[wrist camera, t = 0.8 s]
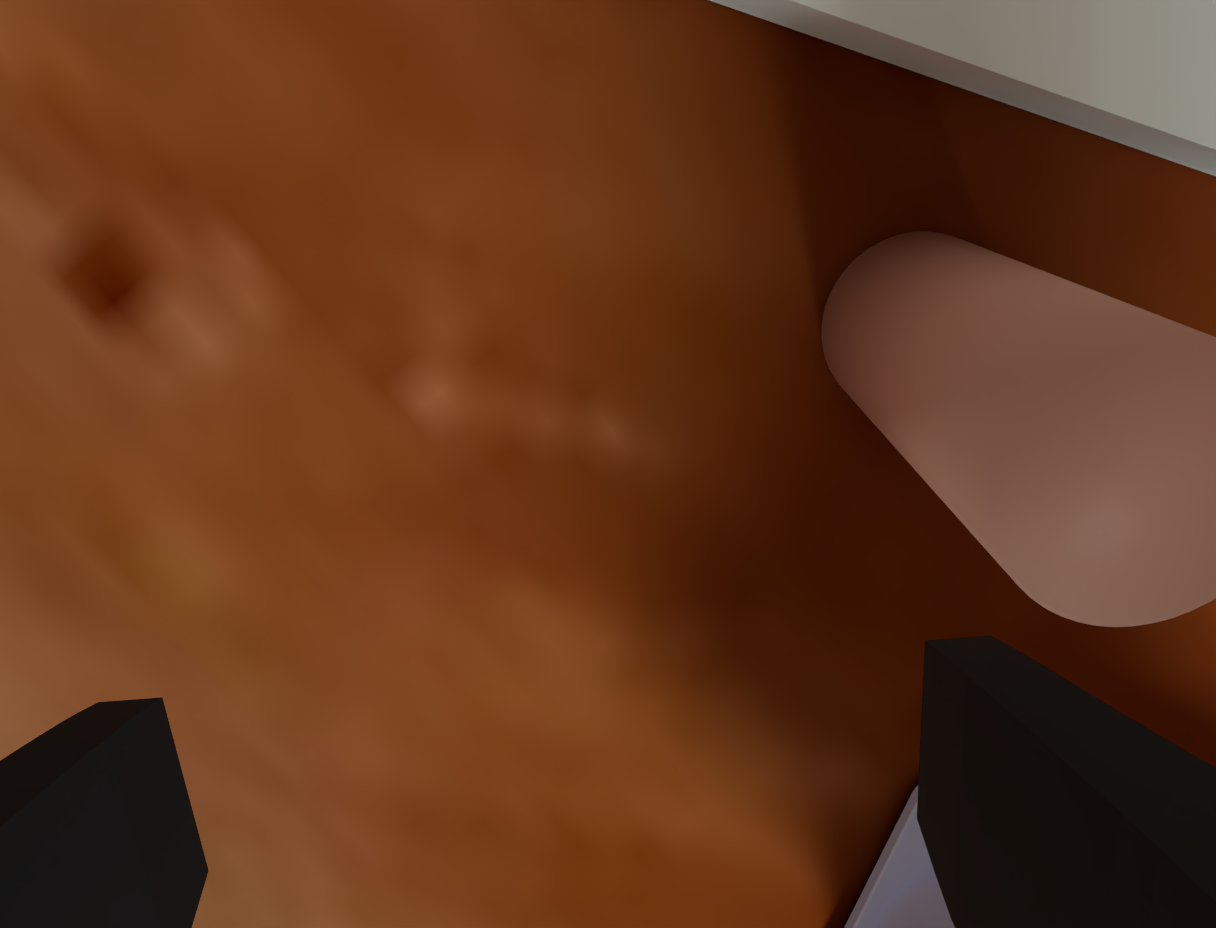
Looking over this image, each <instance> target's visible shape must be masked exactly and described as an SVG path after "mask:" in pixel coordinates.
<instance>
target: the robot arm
mask: <svg viewBox="0 0 1216 928" xmlns="http://www.w3.org/2000/svg"><path fill="white" fill-rule="evenodd" d="M207 873H208V867H207V864H206V860H205V856H204V852H203V849H202V845H201V841H200V837H199V834H198V830H197V826H196V822H195V819H194V815H193V811H192V807H191V804H190V800H189V796H188V792H187V789H186V785H185V781H184V777H183V774H182V770H181V766H180V762H179V759H178V755H177V751H176V747H175V744H174V740H173V736H172V733H171V729H170V725H169V721H168V718H167V714H166V710H165V706H164V703H163V699H162V698H151V699H137V700H124V701H110V702H98V703H96V704H94V705H92V706H90V707H88V708H86V709H85V710H83V711H81V712H79V713H77V714H75V715H73V716H72V717H70V718H68V719H66V720H65V721H63V722H61V723H60V724H58V725H56V726H55V727H53V728H51V729H50V730H48V731H46V732H45V733H43V734H42V735H40V736H38V737H37V738H35V739H34V740H32V741H30V742H29V743H27V744H26V745H24V746H23V747H21V748H19V749H18V750H16V751H15V752H13V753H12V754H10V755H9V756H7V757H5V758H4V759H2V760H1V761H0V928H192V924H193V921H194V917H195V914H196V911H197V907H198V904H199V900H200V897H201V894H202V890H203V887H204V884H205V880H206V877H207ZM844 928H1216V768H1214V767H1213V766H1211V765H1209V764H1207V763H1206V762H1204V761H1202V760H1200V759H1198V758H1197V757H1195V756H1193V755H1192V754H1190V753H1188V752H1186V751H1185V750H1183V749H1181V748H1179V747H1178V746H1176V745H1174V744H1172V743H1171V742H1169V741H1167V740H1166V739H1164V738H1162V737H1161V736H1159V735H1157V734H1156V733H1154V732H1152V731H1150V730H1149V729H1147V728H1145V727H1144V726H1142V725H1140V724H1139V723H1137V722H1135V721H1134V720H1132V719H1130V718H1129V717H1127V716H1125V715H1124V714H1122V713H1120V712H1119V711H1117V710H1115V709H1114V708H1112V707H1110V706H1109V705H1107V704H1105V703H1104V702H1102V701H1101V700H1099V699H1097V698H1096V697H1094V696H1092V695H1091V694H1089V693H1087V692H1086V691H1084V690H1083V689H1081V688H1079V687H1078V686H1076V685H1074V684H1073V683H1071V682H1069V681H1068V680H1066V679H1064V678H1063V677H1061V676H1060V675H1058V674H1056V673H1055V672H1053V671H1051V670H1050V669H1048V668H1046V667H1045V666H1043V665H1041V664H1040V663H1038V662H1036V661H1035V660H1033V659H1031V658H1030V657H1028V656H1026V655H1024V654H1023V653H1021V652H1019V651H1018V650H1016V649H1014V648H1012V647H1010V646H1009V645H1007V644H1005V643H1003V642H1001V641H999V640H997V639H995V638H993V637H991V636H983V637H969V638H956V639H943V640H929V641H925V655H924V676H923V697H922V718H921V739H920V760H919V780H918V785H917V787H916V788H915V789H914V791H913V792H912V794H911V796H910V798H909V800H908V802H907V804H906V806H905V808H904V810H903V812H902V814H901V816H900V818H899V820H898V822H897V824H896V826H895V828H894V830H893V832H892V834H891V836H890V838H889V840H888V842H887V844H886V846H885V848H884V849H883V851H882V853H881V855H880V857H879V859H878V861H877V863H876V865H875V867H874V869H873V871H872V873H871V875H870V877H869V879H868V881H867V883H866V885H865V887H864V889H863V891H862V893H861V895H860V897H859V899H858V901H857V903H856V905H855V907H854V909H853V911H852V913H851V915H850V917H849V919H848V921H847V923H846V925H845V927H844Z"/></svg>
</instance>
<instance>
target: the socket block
mask: <svg viewBox="0 0 1216 928" xmlns="http://www.w3.org/2000/svg"><path fill="white" fill-rule="evenodd" d="M709 1H712V2H715V3H718V4H721V5H724V6H727V7H729V8H732V9H735V10H738V11H741V12H744V13H747V14H750V15H752V16H755V17H758V18H761V19H764V20H767V21H770V22H773V23H775V24H778V25H781V26H784V27H787V28H790V29H793V30H796V31H798V32H801V33H804V34H807V35H810V36H813V37H816V38H819V39H822V40H824V41H827V42H830V43H833V44H836V45H839V46H842V47H845V48H847V49H850V50H853V51H856V52H859V53H862V54H865V55H868V56H870V57H873V58H876V59H879V60H882V61H885V62H888V63H891V64H893V65H896V66H899V67H902V68H905V69H908V70H911V71H914V72H916V73H919V74H922V75H925V76H928V77H931V78H934V79H937V80H939V81H942V82H945V83H948V84H951V85H954V86H957V87H960V88H962V89H965V90H968V91H971V92H974V93H977V94H980V95H983V96H985V97H988V98H991V99H994V100H997V101H1000V102H1003V103H1006V104H1008V105H1011V106H1014V107H1017V108H1020V109H1023V110H1026V111H1029V112H1032V113H1034V114H1037V115H1040V116H1043V117H1046V118H1049V119H1052V120H1055V121H1057V122H1060V123H1063V124H1066V125H1069V126H1072V127H1075V128H1078V129H1080V130H1083V131H1086V132H1089V133H1092V134H1095V135H1098V136H1101V137H1103V138H1106V139H1109V140H1112V141H1115V142H1118V143H1121V144H1124V145H1126V146H1129V147H1132V148H1135V149H1138V150H1141V151H1144V152H1147V153H1149V154H1152V155H1155V156H1158V157H1161V158H1164V159H1167V160H1170V161H1172V162H1175V163H1178V164H1181V165H1184V166H1187V167H1190V168H1193V169H1195V170H1198V171H1201V172H1204V173H1207V174H1210V175H1213V176H1216V0H709Z"/></svg>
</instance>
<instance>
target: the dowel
mask: <svg viewBox="0 0 1216 928" xmlns="http://www.w3.org/2000/svg"><path fill="white" fill-rule="evenodd" d="M821 339H822V348H823V352H824V357H825V360H826V362H827V365H828V368H829V370H830V371H831V373H832V375H833V377H834V378H835V380H836V381H837V382H838V384H839V385H840V386H841V388H842V389H843V390H844V391H845V392H846V393H847V394H848V395H849V396H850V398H851V399H852V400H853V401H854V402H855V403H856V404H857V405H858V407H859V408H860V409H861V410H862V411H863V412H864V413H865V414H866V416H867V417H868V418H869V419H870V420H871V421H872V422H873V423H874V425H875V426H876V427H877V428H878V429H879V430H880V431H881V432H882V434H883V435H884V436H885V437H886V438H887V439H888V440H889V441H890V443H891V444H892V445H893V446H894V447H895V448H896V449H897V450H898V452H899V453H900V454H901V455H902V456H903V457H904V458H905V459H906V461H907V462H908V463H909V464H910V465H911V466H912V467H913V468H914V469H915V471H916V472H917V473H918V474H919V475H920V476H921V477H922V478H923V480H924V481H925V482H926V483H927V484H928V485H929V486H930V487H931V489H932V490H933V491H934V492H935V493H936V494H937V495H938V496H939V498H940V499H941V500H942V501H943V502H944V503H945V504H946V505H947V507H948V508H949V509H950V510H951V511H952V512H953V513H954V514H955V516H956V517H957V518H958V519H959V520H960V521H961V522H962V523H963V525H964V526H965V527H966V528H967V529H968V530H969V531H970V532H971V534H972V535H973V536H974V537H975V538H976V539H977V540H978V541H979V542H980V544H981V545H982V546H983V547H984V548H985V549H986V550H987V551H988V553H989V554H990V555H991V556H992V557H993V558H994V559H995V560H996V562H997V563H998V564H999V565H1000V566H1001V567H1002V568H1003V569H1004V571H1005V572H1006V573H1007V574H1008V575H1009V576H1010V577H1011V578H1012V580H1013V581H1014V582H1015V583H1016V584H1017V585H1018V586H1019V587H1020V588H1021V589H1022V590H1023V591H1024V592H1025V593H1026V594H1027V595H1028V596H1029V597H1030V598H1031V599H1033V600H1034V601H1035V602H1037V603H1038V604H1040V605H1041V606H1042V607H1044V608H1045V609H1047V610H1049V611H1051V612H1053V613H1055V614H1057V615H1059V616H1061V617H1064V618H1067V619H1070V620H1073V621H1076V622H1080V623H1084V624H1089V625H1094V626H1105V627H1132V626H1139V625H1146V624H1152V623H1156V622H1160V621H1164V620H1168V619H1171V618H1174V617H1177V616H1180V615H1182V614H1185V613H1187V612H1190V611H1192V610H1194V609H1196V608H1198V607H1200V606H1202V605H1204V604H1206V603H1208V602H1210V601H1212V600H1213V599H1215V598H1216V337H1214V336H1211V335H1208V334H1206V333H1203V332H1201V331H1198V330H1195V329H1193V328H1190V327H1188V326H1185V325H1182V324H1180V323H1177V322H1175V321H1172V320H1170V319H1167V318H1164V317H1162V316H1159V315H1157V314H1154V313H1151V312H1149V311H1146V310H1144V309H1141V308H1138V307H1136V306H1133V305H1131V304H1128V303H1125V302H1123V301H1120V300H1118V299H1115V298H1112V297H1110V296H1107V295H1105V294H1102V293H1099V292H1097V291H1094V290H1092V289H1089V288H1087V287H1084V286H1081V285H1079V284H1076V283H1074V282H1071V281H1068V280H1066V279H1063V278H1061V277H1058V276H1055V275H1053V274H1050V273H1048V272H1045V271H1042V270H1040V269H1037V268H1035V267H1032V266H1029V265H1027V264H1024V263H1022V262H1019V261H1016V260H1014V259H1011V258H1009V257H1006V256H1004V255H1001V254H998V253H996V252H993V251H991V250H988V249H985V248H983V247H980V246H978V245H975V244H972V243H970V242H967V241H965V240H962V239H959V238H957V237H954V236H952V235H948V234H944V233H940V232H930V231H917V232H909V233H903V234H900V235H896V236H893V237H890V238H887V239H885V240H883V241H881V242H878V243H877V244H875V245H873V246H872V247H870V248H868V249H867V250H866V251H864V252H863V253H862V254H860V255H859V256H858V257H857V258H856V259H855V260H854V261H852V262H851V263H850V264H849V265H848V266H847V268H846V269H845V270H844V271H843V273H842V274H841V275H840V277H839V278H838V280H837V281H836V283H835V285H834V286H833V288H832V290H831V292H830V295H829V297H828V299H827V302H826V305H825V309H824V313H823V318H822V326H821Z"/></svg>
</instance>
